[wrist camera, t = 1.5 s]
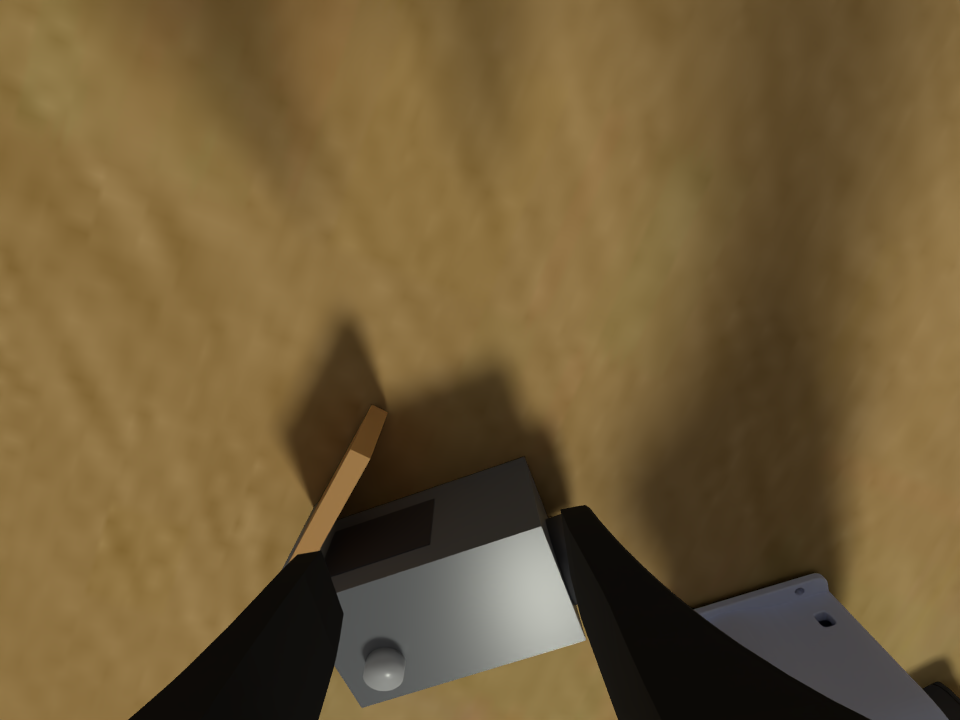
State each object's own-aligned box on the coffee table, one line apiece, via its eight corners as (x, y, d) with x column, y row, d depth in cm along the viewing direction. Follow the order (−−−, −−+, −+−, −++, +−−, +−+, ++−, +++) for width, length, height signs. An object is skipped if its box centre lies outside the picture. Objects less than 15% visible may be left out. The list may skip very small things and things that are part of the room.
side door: (370, 402, 20) (346, 449, 16) (390, 412, 21) (372, 461, 17) (309, 514, 22) (275, 580, 18) (329, 522, 22) (299, 590, 18)
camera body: (546, 448, 22) (573, 526, 16) (581, 546, 23) (616, 645, 18) (331, 521, 22) (289, 618, 17) (382, 610, 24) (358, 722, 19)
